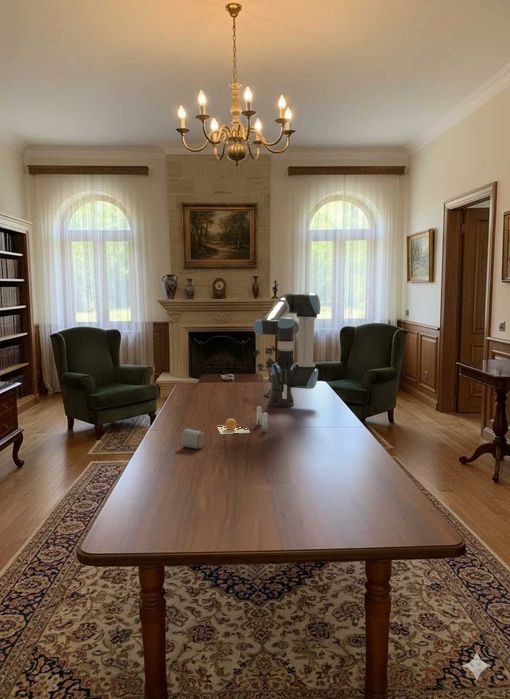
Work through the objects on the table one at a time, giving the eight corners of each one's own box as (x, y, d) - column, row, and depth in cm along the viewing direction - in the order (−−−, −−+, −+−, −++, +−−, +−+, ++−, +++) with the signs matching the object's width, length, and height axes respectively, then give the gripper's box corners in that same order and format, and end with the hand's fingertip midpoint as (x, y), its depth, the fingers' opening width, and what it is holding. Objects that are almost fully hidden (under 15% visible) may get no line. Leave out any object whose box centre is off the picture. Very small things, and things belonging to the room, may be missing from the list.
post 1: (260, 423, 250) (261, 406, 249) (262, 425, 247) (262, 407, 246) (256, 424, 249) (256, 406, 248) (257, 425, 247) (257, 407, 246)
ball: (223, 427, 240) (234, 429, 241) (224, 430, 235) (236, 432, 236) (225, 416, 240) (236, 418, 241) (227, 418, 235) (238, 420, 236)
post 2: (266, 430, 238) (267, 412, 236) (267, 432, 235) (268, 413, 234) (261, 431, 237) (261, 412, 236) (262, 432, 235) (263, 413, 233)
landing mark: (244, 424, 247) (244, 424, 247) (250, 432, 234) (250, 432, 234) (216, 426, 245) (216, 425, 245) (220, 434, 231) (220, 433, 231)
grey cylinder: (198, 451, 207) (198, 433, 206) (180, 448, 209) (180, 430, 209) (209, 444, 217) (209, 426, 216) (191, 442, 219) (192, 425, 219)
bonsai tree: (252, 391, 330) (253, 343, 326) (289, 391, 330) (290, 343, 326) (252, 403, 295) (253, 349, 291) (293, 403, 295) (295, 350, 292)
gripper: (296, 348, 245) (295, 396, 248) (270, 349, 242) (269, 397, 245) (300, 350, 238) (299, 399, 240) (274, 350, 235) (273, 400, 238)
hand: (284, 398), depth 243 cm, fingers closed
